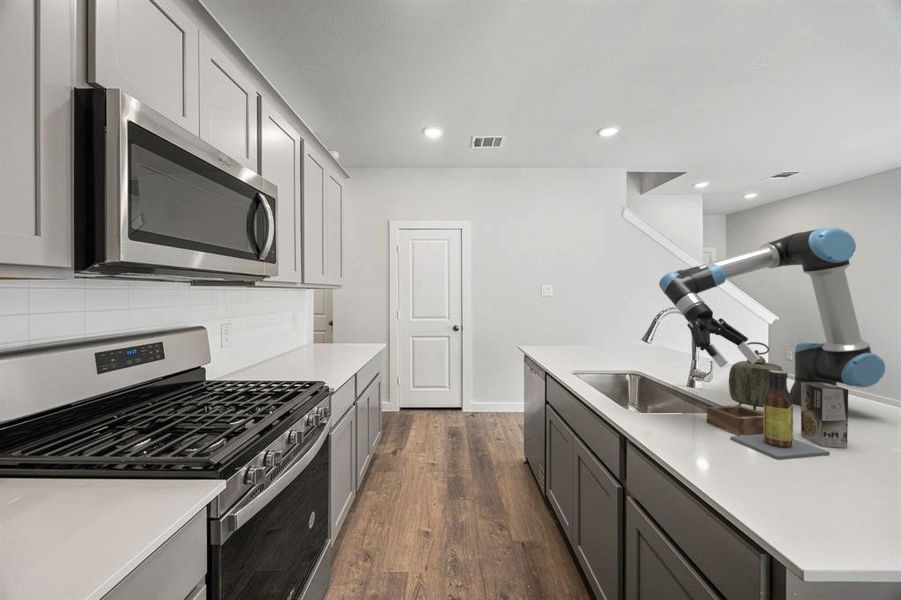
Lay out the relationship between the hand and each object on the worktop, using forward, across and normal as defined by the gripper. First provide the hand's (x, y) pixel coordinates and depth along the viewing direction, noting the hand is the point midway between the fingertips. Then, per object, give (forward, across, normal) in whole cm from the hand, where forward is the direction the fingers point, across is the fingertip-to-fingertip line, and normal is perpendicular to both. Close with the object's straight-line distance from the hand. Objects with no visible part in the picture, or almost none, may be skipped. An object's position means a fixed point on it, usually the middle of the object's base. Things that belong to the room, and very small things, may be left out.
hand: (740, 363), depth 119 cm
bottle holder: (+12, -6, -18) cm, 22 cm away
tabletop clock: (+7, -24, -23) cm, 34 cm away
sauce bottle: (+22, 0, -8) cm, 23 cm away
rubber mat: (+22, 0, -8) cm, 24 cm away
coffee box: (+24, -16, -7) cm, 30 cm away
